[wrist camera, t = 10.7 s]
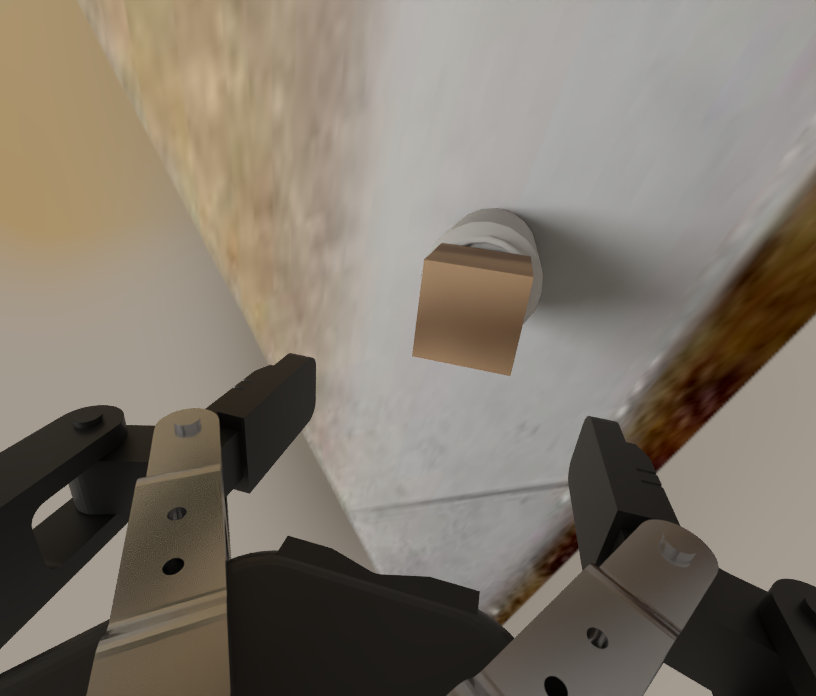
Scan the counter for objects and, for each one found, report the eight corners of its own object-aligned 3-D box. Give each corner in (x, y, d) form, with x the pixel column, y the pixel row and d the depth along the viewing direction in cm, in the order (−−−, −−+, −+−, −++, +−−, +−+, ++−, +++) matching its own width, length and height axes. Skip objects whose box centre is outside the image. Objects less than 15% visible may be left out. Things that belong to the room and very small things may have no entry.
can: (541, 289, 35) (551, 342, 25) (454, 303, 38) (428, 356, 27) (530, 198, 33) (537, 211, 22) (438, 217, 35) (403, 238, 24)
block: (441, 242, 24) (424, 259, 19) (530, 256, 23) (533, 277, 19) (430, 323, 26) (412, 356, 21) (511, 339, 25) (510, 375, 21)
